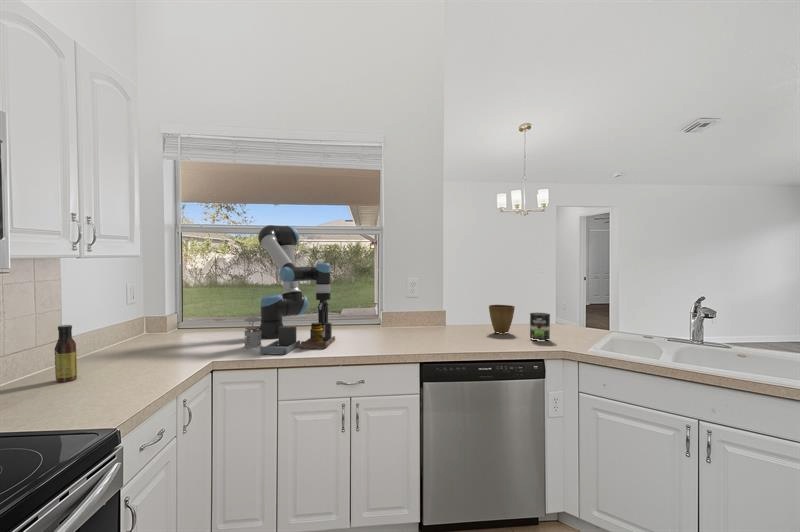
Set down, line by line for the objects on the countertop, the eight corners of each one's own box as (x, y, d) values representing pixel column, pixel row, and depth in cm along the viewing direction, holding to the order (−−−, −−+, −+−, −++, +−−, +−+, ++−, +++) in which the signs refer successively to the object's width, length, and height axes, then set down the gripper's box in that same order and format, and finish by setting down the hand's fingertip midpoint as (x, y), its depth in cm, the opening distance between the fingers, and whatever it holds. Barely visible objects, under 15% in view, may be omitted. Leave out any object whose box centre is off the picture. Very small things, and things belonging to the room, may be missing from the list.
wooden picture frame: (313, 339, 231) (313, 322, 231) (335, 339, 231) (335, 322, 231) (301, 348, 209) (300, 329, 209) (325, 348, 209) (325, 329, 208)
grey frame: (277, 344, 219) (276, 326, 219) (300, 344, 218) (300, 326, 218) (260, 353, 197) (260, 333, 197) (286, 354, 196) (285, 334, 196)
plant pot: (484, 333, 252) (484, 306, 252) (494, 330, 265) (494, 304, 264) (509, 336, 244) (509, 307, 244) (518, 332, 256) (518, 305, 256)
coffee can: (549, 342, 227) (549, 315, 226) (528, 340, 230) (529, 314, 230) (550, 338, 236) (550, 313, 236) (530, 337, 240) (530, 312, 240)
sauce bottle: (63, 378, 158) (62, 324, 158) (81, 377, 159) (80, 323, 159) (50, 383, 152) (49, 326, 152) (69, 382, 152) (68, 326, 152)
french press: (243, 350, 207) (243, 298, 207) (240, 345, 217) (240, 296, 217) (265, 348, 212) (264, 297, 211) (260, 344, 222) (260, 295, 222)
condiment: (326, 347, 213) (326, 323, 213) (310, 350, 207) (310, 325, 207) (319, 345, 218) (319, 321, 218) (303, 347, 213) (303, 323, 213)
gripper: (326, 293, 220) (326, 339, 221) (333, 291, 237) (333, 333, 237) (312, 293, 221) (312, 339, 221) (320, 291, 238) (320, 333, 238)
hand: (323, 336), depth 229 cm, fingers closed on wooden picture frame, 3 cm apart
